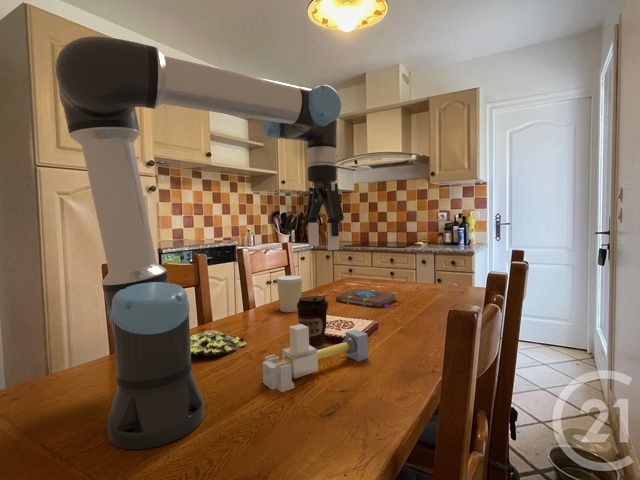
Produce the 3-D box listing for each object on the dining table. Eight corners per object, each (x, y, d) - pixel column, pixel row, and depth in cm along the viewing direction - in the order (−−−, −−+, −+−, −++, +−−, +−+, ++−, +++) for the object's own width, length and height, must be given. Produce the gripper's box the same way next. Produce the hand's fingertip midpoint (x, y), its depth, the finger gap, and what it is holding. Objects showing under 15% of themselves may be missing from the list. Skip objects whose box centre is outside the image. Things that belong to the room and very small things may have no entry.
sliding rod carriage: (294, 378, 76) (292, 332, 75) (282, 370, 80) (281, 327, 79) (317, 370, 79) (316, 326, 79) (305, 363, 83) (304, 321, 82)
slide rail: (277, 393, 72) (275, 364, 71) (259, 379, 78) (257, 352, 78) (373, 360, 87) (372, 335, 86) (351, 350, 93) (350, 327, 93)
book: (390, 314, 130) (389, 300, 130) (334, 304, 146) (333, 292, 145) (409, 302, 143) (409, 289, 143) (356, 295, 158) (355, 283, 158)
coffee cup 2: (325, 352, 93) (324, 302, 92) (294, 350, 94) (292, 301, 93) (331, 340, 101) (330, 294, 100) (302, 339, 103) (301, 293, 102)
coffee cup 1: (307, 308, 137) (307, 276, 136) (293, 314, 129) (291, 280, 128) (288, 305, 142) (287, 274, 141) (272, 310, 134) (271, 278, 133)
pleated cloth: (154, 355, 97) (156, 330, 98) (204, 352, 110) (205, 329, 112) (204, 358, 86) (205, 329, 88) (252, 354, 99) (253, 329, 101)
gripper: (357, 159, 84) (358, 250, 85) (317, 172, 107) (318, 244, 108) (327, 157, 81) (328, 252, 83) (293, 171, 104) (294, 245, 106)
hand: (323, 247), depth 95 cm, fingers open, 13 cm apart
